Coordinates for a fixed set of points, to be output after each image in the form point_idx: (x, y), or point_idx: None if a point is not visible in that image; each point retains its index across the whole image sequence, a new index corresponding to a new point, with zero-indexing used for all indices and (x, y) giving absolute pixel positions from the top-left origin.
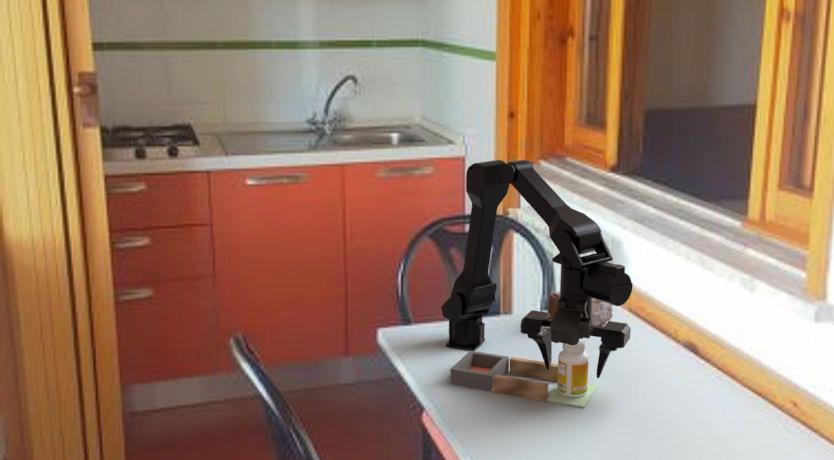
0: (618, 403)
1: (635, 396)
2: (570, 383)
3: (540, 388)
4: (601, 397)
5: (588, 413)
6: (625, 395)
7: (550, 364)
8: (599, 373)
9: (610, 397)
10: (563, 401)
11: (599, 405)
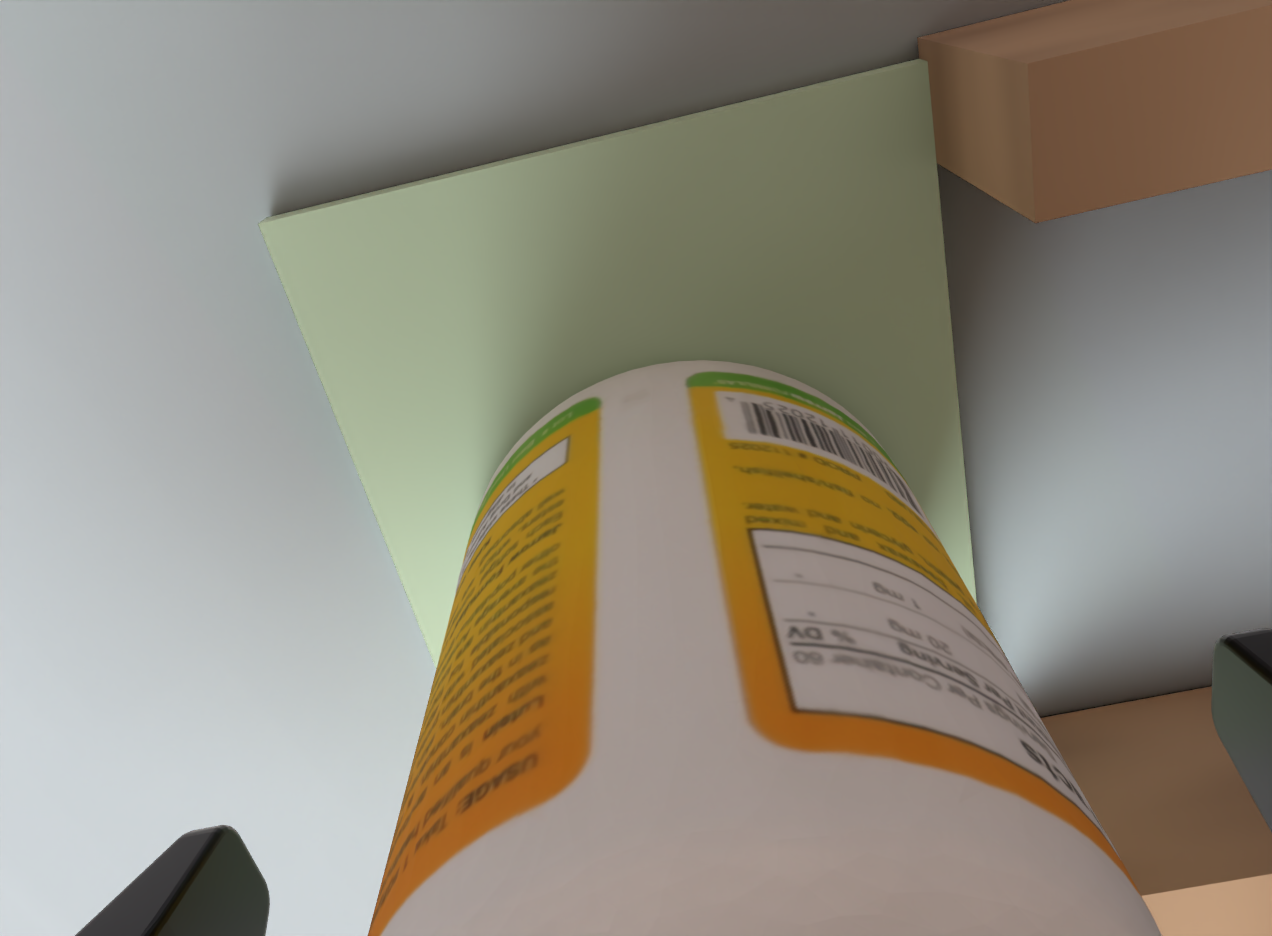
0: (35, 630)
1: (41, 877)
2: (616, 478)
3: (1123, 20)
4: (314, 656)
5: (87, 72)
6: (139, 842)
7: (1258, 774)
8: (117, 909)
9: (230, 714)
10: (634, 184)
11: (168, 437)
